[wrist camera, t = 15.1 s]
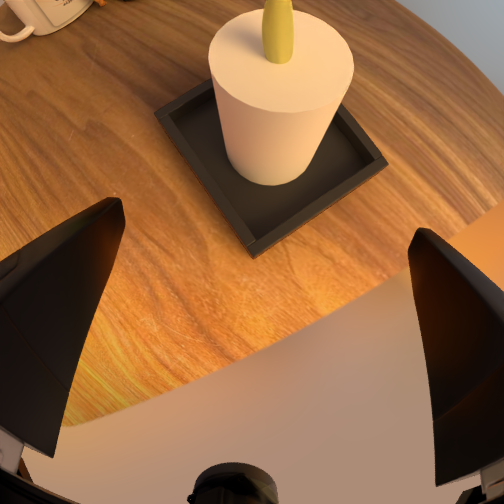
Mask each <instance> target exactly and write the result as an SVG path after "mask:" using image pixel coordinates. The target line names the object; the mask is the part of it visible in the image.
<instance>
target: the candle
mask: <svg viewBox="0 0 504 504" xmlns="http://www.w3.org/2000/svg"><path fill="white" fill-rule="evenodd" d="M208 60H209V65H210V70H211V75H212V80H213V86H214V91H215V96H216V101H217V106H218V111H219V116H220V121H221V126H222V132H223V137H224V142H225V147H226V151H227V156H228V159H229V161H230V163H231V164H232V166H233V168H234V169H235V170H236V171H237V172H238V173H239V174H240V175H241V176H243V177H244V178H246V179H248V180H249V181H251V182H254V183H258V184H261V185H273V186H275V185H280V184H285V183H288V182H290V181H292V180H294V179H296V178H297V177H298V176H299V175H301V174H302V173H303V172H304V171H305V169H306V168H307V166H308V165H309V163H310V161H311V160H312V158H313V156H314V154H315V152H316V150H317V148H318V146H319V144H320V142H321V140H322V138H323V136H324V134H325V132H326V130H327V128H328V126H329V124H330V122H331V120H332V118H333V116H334V114H335V112H336V110H337V109H338V107H339V105H340V103H341V101H342V99H343V97H344V95H345V93H346V91H347V89H348V87H349V85H350V83H351V80H352V75H353V71H354V64H353V57H352V53H351V51H350V49H349V47H348V45H347V43H346V41H345V40H344V39H343V38H342V37H341V36H340V34H339V33H338V32H337V31H336V30H335V29H333V28H332V27H331V26H329V25H328V24H327V23H325V22H324V21H322V20H320V19H318V18H316V17H314V16H312V15H309V14H307V13H303V12H299V11H295V10H292V2H291V0H267V1H266V3H265V6H264V9H259V10H254V11H251V12H248V13H245V14H241V15H239V16H238V17H236V18H234V19H232V20H230V21H229V22H227V23H226V24H225V25H224V26H223V27H222V28H221V29H220V30H219V31H218V32H217V33H216V35H215V37H214V38H213V40H212V42H211V44H210V49H209V55H208Z"/></svg>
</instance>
